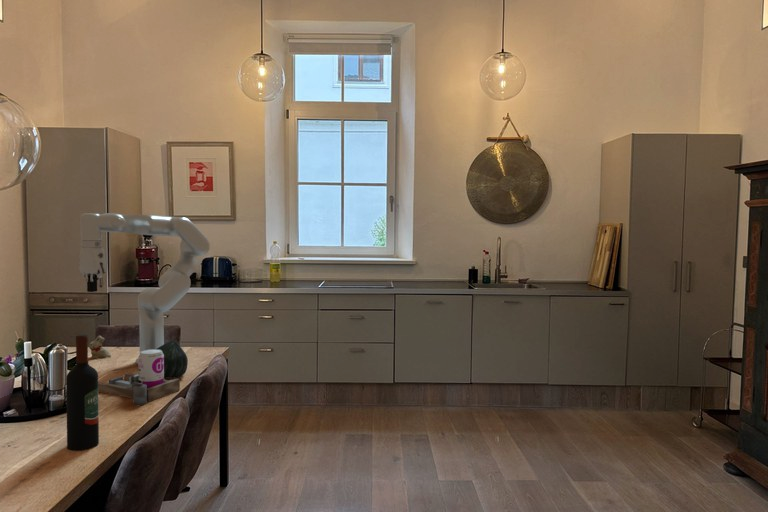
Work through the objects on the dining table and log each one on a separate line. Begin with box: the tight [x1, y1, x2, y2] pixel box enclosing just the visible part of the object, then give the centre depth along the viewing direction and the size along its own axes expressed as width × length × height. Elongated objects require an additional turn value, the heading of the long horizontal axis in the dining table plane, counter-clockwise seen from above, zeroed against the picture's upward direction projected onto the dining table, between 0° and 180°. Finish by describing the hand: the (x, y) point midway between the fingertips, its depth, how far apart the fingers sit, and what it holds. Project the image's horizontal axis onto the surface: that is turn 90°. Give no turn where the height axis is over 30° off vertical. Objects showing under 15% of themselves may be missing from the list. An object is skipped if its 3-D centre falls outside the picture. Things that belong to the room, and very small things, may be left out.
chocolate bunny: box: [88, 335, 112, 359], centre depth 240 cm, size 6×8×10 cm
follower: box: [107, 374, 138, 388], centre depth 198 cm, size 10×14×6 cm
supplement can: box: [137, 349, 165, 388], centre depth 193 cm, size 8×8×15 cm
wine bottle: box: [65, 334, 100, 452], centre depth 148 cm, size 8×8×30 cm
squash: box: [157, 340, 189, 379], centre depth 212 cm, size 14×15×15 cm
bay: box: [98, 372, 181, 407], centre depth 194 cm, size 19×27×9 cm
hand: (92, 291), depth 216 cm, fingers closed
